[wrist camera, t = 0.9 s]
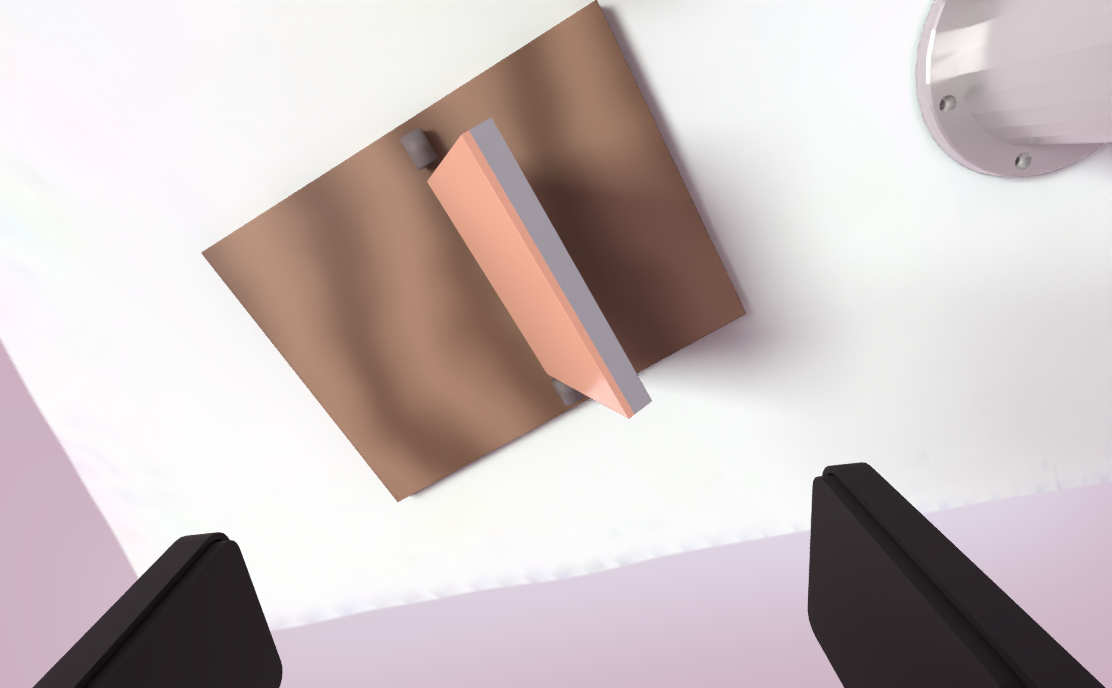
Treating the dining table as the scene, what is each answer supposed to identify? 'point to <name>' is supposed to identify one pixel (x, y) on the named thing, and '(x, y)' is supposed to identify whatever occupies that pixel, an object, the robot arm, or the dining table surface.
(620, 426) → the dining table surface
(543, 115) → the hinge board
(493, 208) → the tile
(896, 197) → the dining table surface
